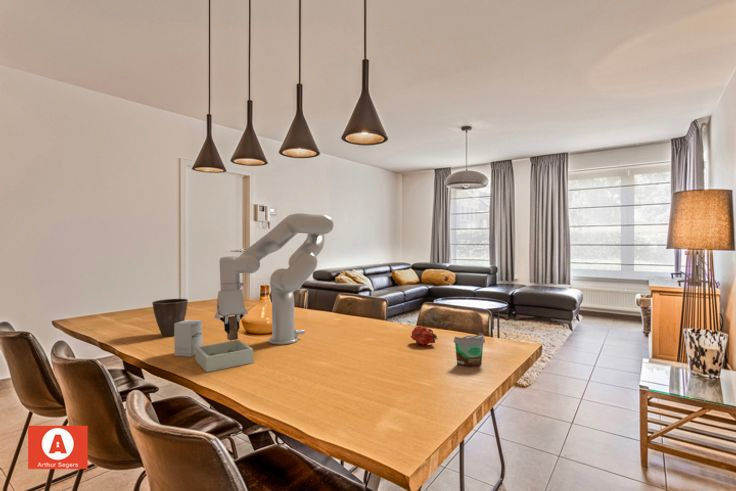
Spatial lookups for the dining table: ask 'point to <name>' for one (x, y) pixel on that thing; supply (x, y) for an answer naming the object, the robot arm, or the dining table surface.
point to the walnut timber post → (232, 328)
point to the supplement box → (187, 337)
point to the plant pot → (169, 314)
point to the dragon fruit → (423, 335)
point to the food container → (469, 350)
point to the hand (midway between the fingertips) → (232, 331)
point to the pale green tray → (223, 355)
